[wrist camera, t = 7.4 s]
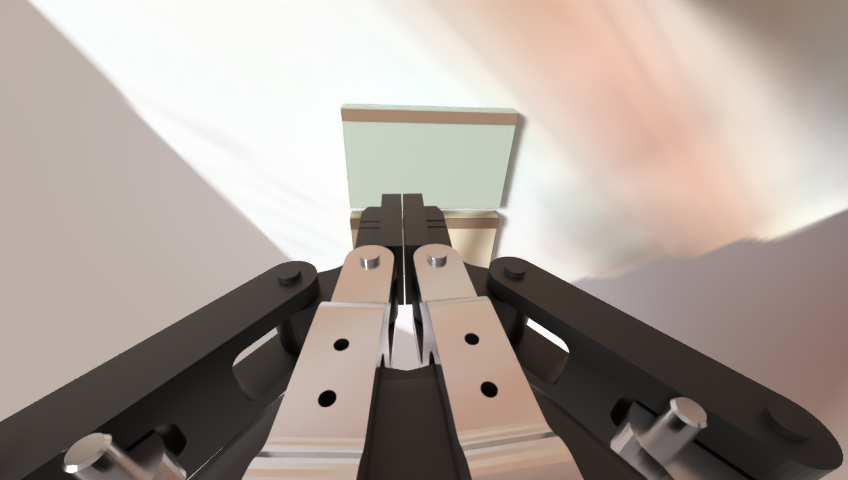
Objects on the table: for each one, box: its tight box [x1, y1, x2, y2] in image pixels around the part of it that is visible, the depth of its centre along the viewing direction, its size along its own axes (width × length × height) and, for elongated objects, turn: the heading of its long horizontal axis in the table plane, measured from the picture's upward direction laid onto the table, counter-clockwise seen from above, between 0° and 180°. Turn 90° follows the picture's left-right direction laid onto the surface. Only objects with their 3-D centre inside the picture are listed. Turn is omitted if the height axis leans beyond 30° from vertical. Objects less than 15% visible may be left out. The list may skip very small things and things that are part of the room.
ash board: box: [350, 211, 499, 274], centre depth 37 cm, size 16×8×2 cm, turn 88°
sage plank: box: [341, 104, 518, 208], centre depth 31 cm, size 16×10×2 cm, turn 88°
